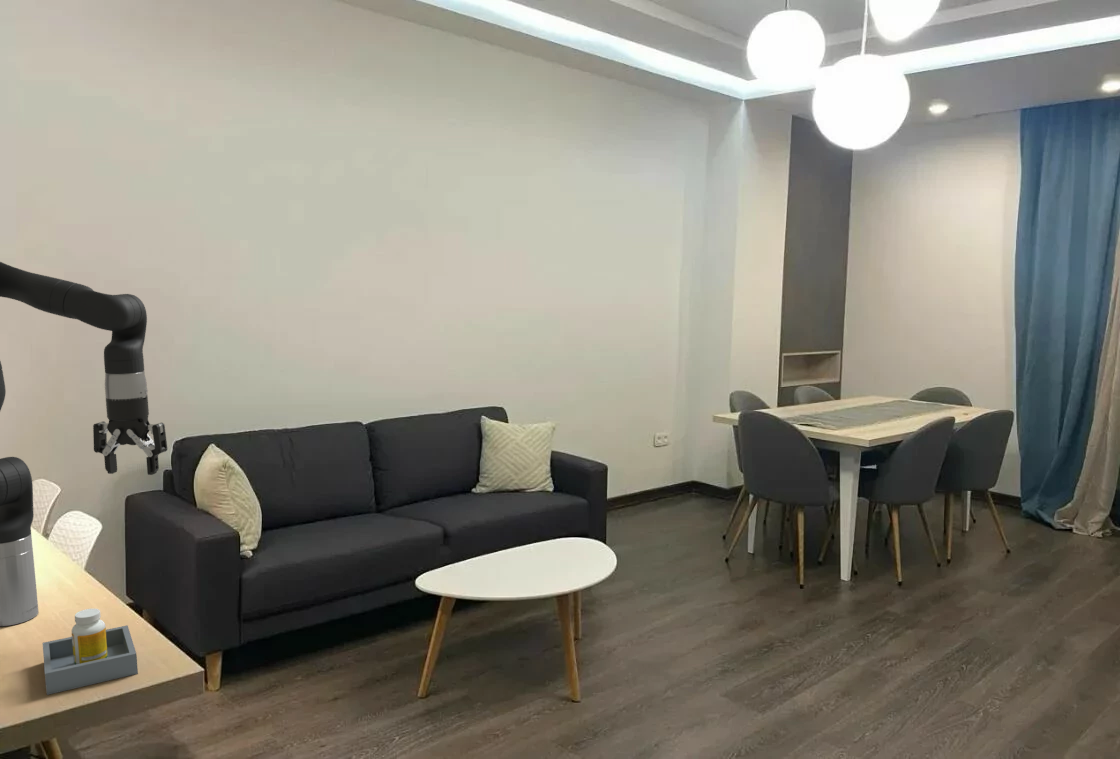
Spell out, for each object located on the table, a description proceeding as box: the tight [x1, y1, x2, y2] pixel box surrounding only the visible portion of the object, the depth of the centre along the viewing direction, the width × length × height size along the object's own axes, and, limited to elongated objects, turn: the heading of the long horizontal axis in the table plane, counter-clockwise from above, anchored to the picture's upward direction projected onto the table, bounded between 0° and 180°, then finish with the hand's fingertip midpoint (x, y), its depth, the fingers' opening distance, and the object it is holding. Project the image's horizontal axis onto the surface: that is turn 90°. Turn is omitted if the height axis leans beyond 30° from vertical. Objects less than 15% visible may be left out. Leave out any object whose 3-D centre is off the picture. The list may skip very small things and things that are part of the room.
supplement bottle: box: [71, 608, 108, 665], centre depth 155 cm, size 5×5×10 cm
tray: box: [42, 624, 139, 696], centre depth 155 cm, size 14×14×4 cm
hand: (132, 473), depth 174 cm, fingers open, 8 cm apart
